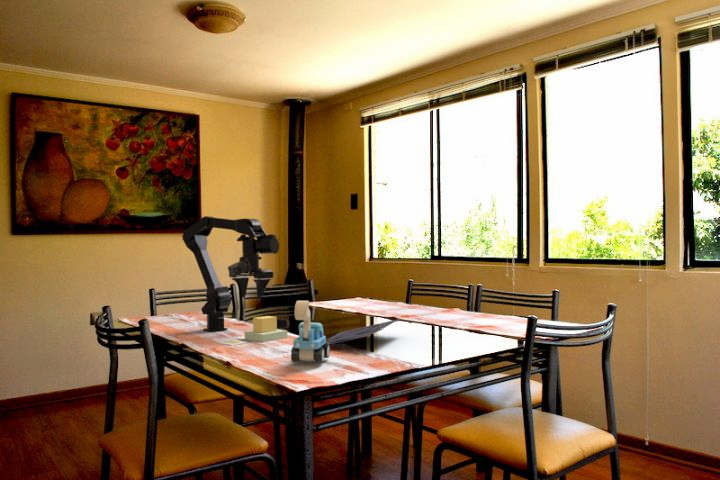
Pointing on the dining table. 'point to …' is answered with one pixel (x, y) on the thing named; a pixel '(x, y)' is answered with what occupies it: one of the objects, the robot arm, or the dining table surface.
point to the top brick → (264, 324)
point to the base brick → (266, 335)
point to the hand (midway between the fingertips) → (251, 298)
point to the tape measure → (282, 323)
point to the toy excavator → (308, 337)
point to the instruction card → (232, 342)
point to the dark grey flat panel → (358, 333)
